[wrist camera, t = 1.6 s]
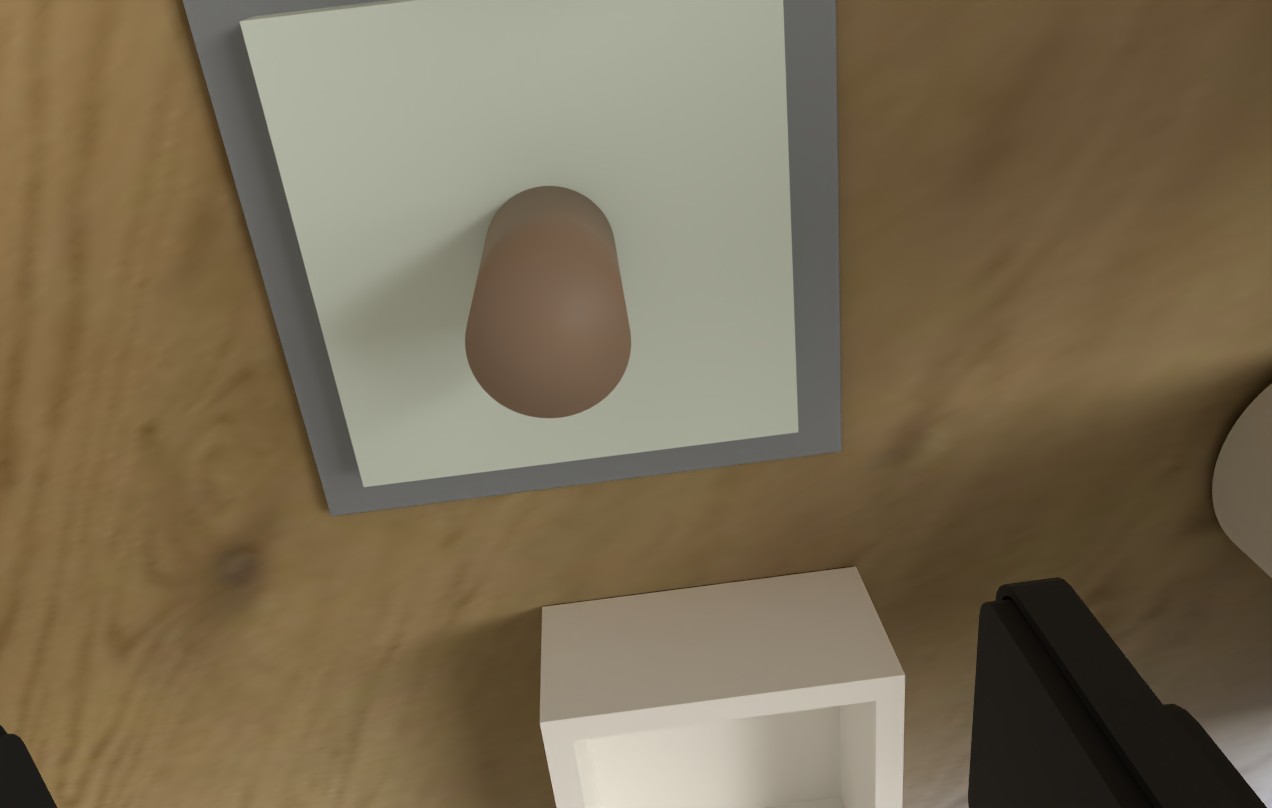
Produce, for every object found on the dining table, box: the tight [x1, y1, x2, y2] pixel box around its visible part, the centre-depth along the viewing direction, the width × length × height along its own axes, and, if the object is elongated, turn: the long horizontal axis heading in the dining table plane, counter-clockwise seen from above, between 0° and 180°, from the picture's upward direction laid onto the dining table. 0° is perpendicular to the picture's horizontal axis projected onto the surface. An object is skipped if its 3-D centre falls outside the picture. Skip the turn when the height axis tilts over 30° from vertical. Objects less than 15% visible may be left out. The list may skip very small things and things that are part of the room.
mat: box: [182, 0, 842, 516], centre depth 26 cm, size 15×15×1 cm
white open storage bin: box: [540, 567, 905, 808], centre depth 31 cm, size 10×10×5 cm
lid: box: [240, 0, 798, 487], centre depth 22 cm, size 12×12×7 cm
